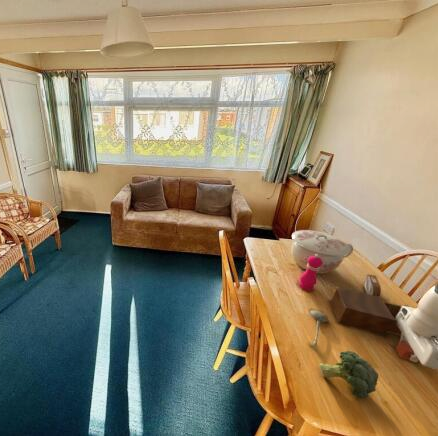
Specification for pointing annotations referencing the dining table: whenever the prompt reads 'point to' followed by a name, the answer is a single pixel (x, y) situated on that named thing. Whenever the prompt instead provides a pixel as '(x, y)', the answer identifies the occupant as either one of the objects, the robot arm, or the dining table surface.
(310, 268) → the pepper mill
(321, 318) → the soupspoon
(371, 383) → the vegetable
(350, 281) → the dining table surface
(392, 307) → the drawer
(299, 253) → the chamber pot
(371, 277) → the tin
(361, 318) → the cabinet
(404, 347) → the block
